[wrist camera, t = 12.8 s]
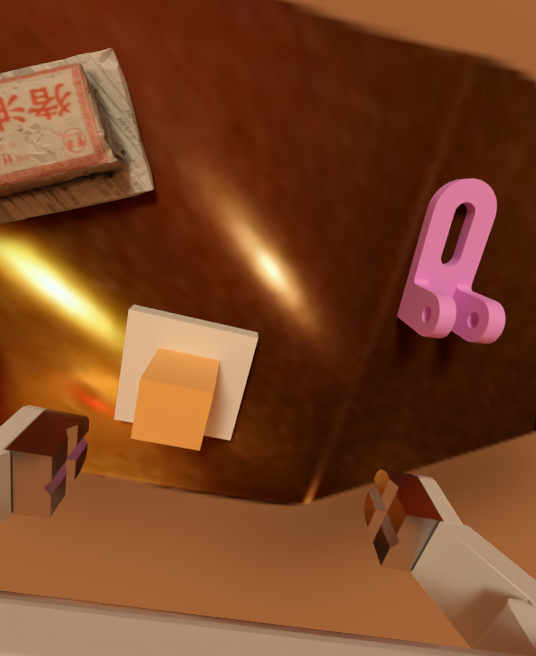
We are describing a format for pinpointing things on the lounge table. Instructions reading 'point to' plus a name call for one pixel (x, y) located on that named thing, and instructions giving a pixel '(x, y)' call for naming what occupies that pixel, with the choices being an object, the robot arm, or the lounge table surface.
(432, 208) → the bracket
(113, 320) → the lounge table surface
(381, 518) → the robot arm
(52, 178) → the packaged product
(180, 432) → the solid orange cube
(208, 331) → the pin plate
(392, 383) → the lounge table surface
